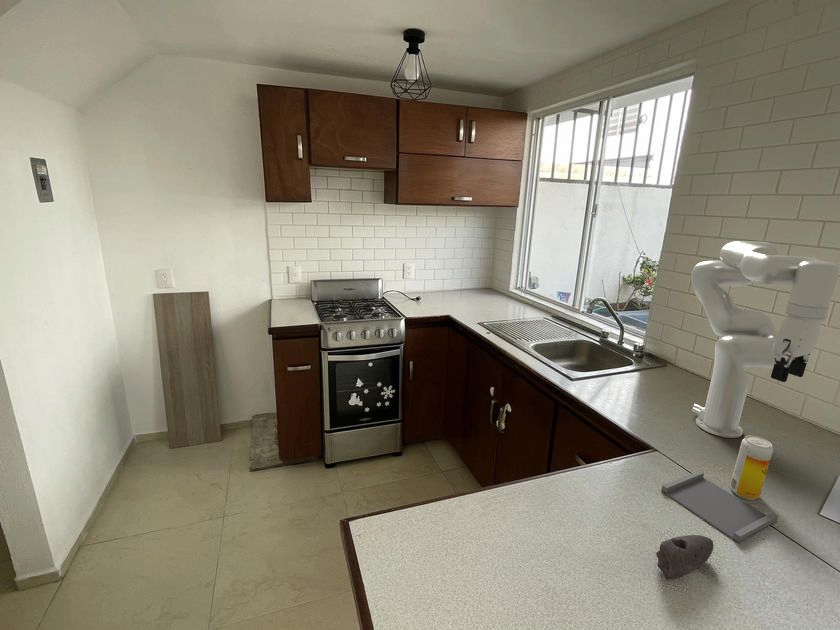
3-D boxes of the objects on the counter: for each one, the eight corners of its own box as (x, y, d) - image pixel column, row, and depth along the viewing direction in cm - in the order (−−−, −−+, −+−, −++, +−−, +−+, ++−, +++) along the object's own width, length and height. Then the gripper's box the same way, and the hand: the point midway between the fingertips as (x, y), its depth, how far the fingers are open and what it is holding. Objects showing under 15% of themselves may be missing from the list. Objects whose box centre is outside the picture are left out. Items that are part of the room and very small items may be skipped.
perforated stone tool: (697, 547, 89) (703, 520, 87) (721, 567, 84) (729, 539, 82) (644, 567, 84) (650, 539, 82) (667, 589, 79) (674, 560, 77)
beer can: (765, 501, 103) (781, 448, 99) (740, 501, 103) (755, 448, 99) (747, 485, 109) (761, 434, 105) (723, 484, 109) (737, 434, 105)
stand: (661, 491, 106) (662, 485, 105) (698, 475, 112) (699, 470, 112) (738, 543, 90) (740, 536, 90) (776, 522, 97) (778, 515, 96)
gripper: (805, 304, 110) (787, 367, 115) (768, 310, 103) (751, 377, 108) (842, 311, 103) (821, 377, 108) (806, 319, 96) (785, 389, 101)
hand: (786, 377), depth 108 cm, fingers open, 7 cm apart
